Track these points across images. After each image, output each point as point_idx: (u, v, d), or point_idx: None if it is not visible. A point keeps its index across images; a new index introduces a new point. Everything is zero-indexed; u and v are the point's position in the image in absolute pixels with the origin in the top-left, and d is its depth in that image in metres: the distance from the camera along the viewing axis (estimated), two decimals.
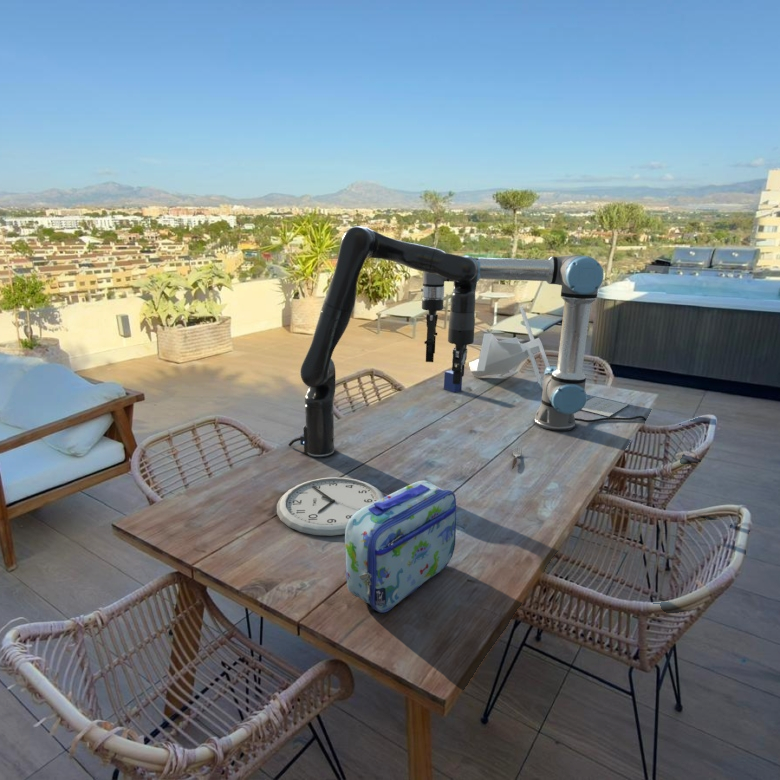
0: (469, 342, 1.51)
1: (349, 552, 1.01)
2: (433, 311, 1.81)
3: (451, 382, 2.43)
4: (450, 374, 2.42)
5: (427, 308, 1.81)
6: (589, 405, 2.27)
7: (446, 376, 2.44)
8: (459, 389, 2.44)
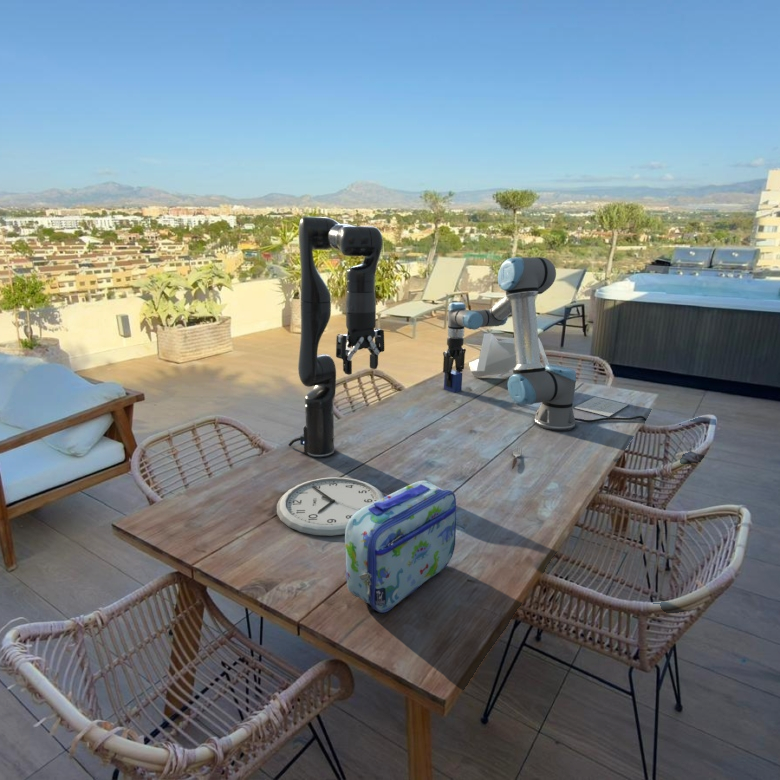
0: (360, 327, 1.29)
1: (349, 552, 1.01)
2: (450, 346, 2.37)
3: None
4: None
5: (447, 344, 2.39)
6: (589, 405, 2.27)
7: None
8: (459, 389, 2.44)
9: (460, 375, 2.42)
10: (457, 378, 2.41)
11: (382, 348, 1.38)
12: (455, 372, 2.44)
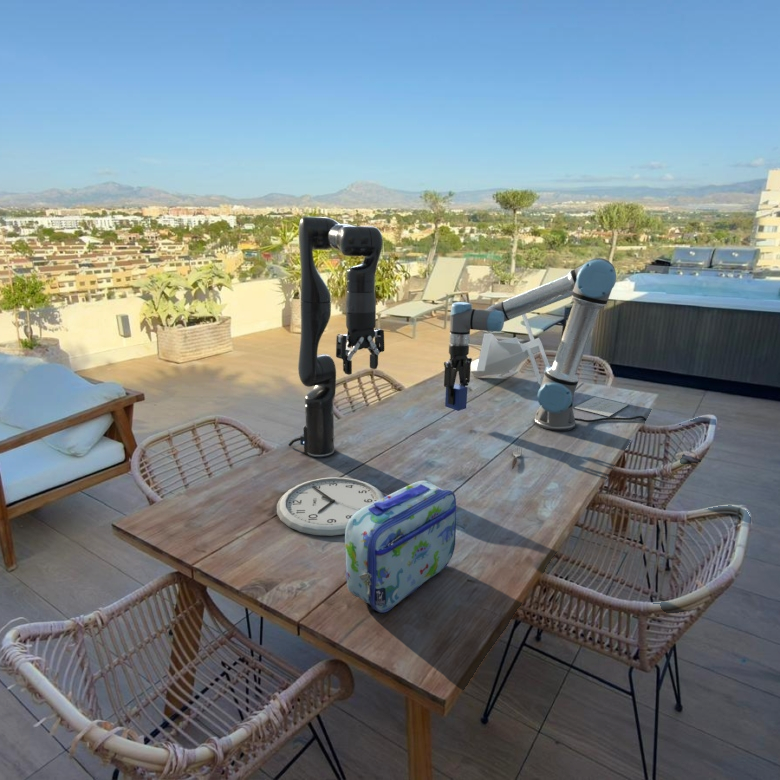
0: (360, 327, 1.29)
1: (349, 552, 1.01)
2: (453, 356, 1.96)
3: None
4: None
5: (449, 352, 1.97)
6: (589, 405, 2.27)
7: None
8: (463, 407, 2.02)
9: (465, 390, 2.01)
10: (461, 394, 2.00)
11: (382, 348, 1.38)
12: (459, 386, 2.02)
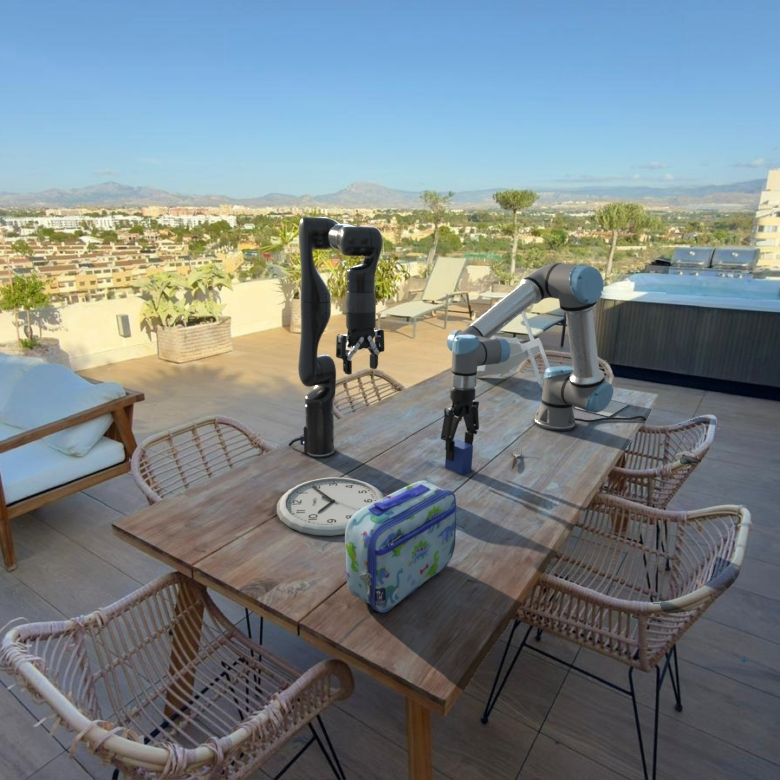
0: (360, 327, 1.29)
1: (349, 552, 1.01)
2: (455, 402, 1.56)
3: (456, 459, 1.62)
4: (455, 447, 1.61)
5: (451, 397, 1.57)
6: None
7: None
8: (468, 469, 1.64)
9: (470, 449, 1.62)
10: (465, 454, 1.61)
11: (382, 348, 1.38)
12: (462, 444, 1.63)
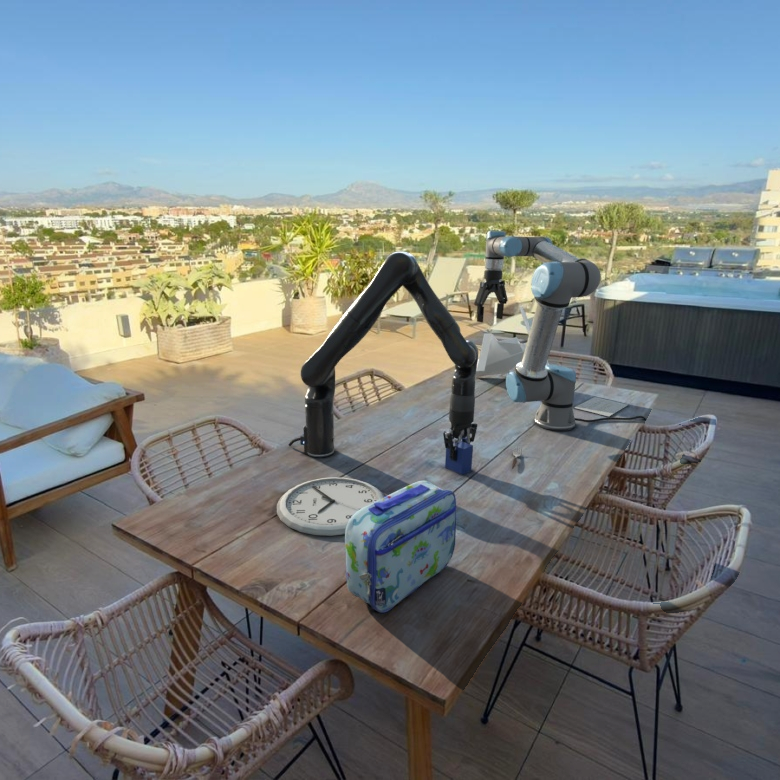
0: (463, 423, 1.57)
1: (349, 552, 1.01)
2: (488, 279, 2.16)
3: None
4: None
5: (485, 277, 2.17)
6: (589, 405, 2.27)
7: (449, 449, 1.64)
8: (468, 469, 1.64)
9: (470, 449, 1.62)
10: (465, 454, 1.61)
11: (473, 439, 1.65)
12: (462, 444, 1.63)
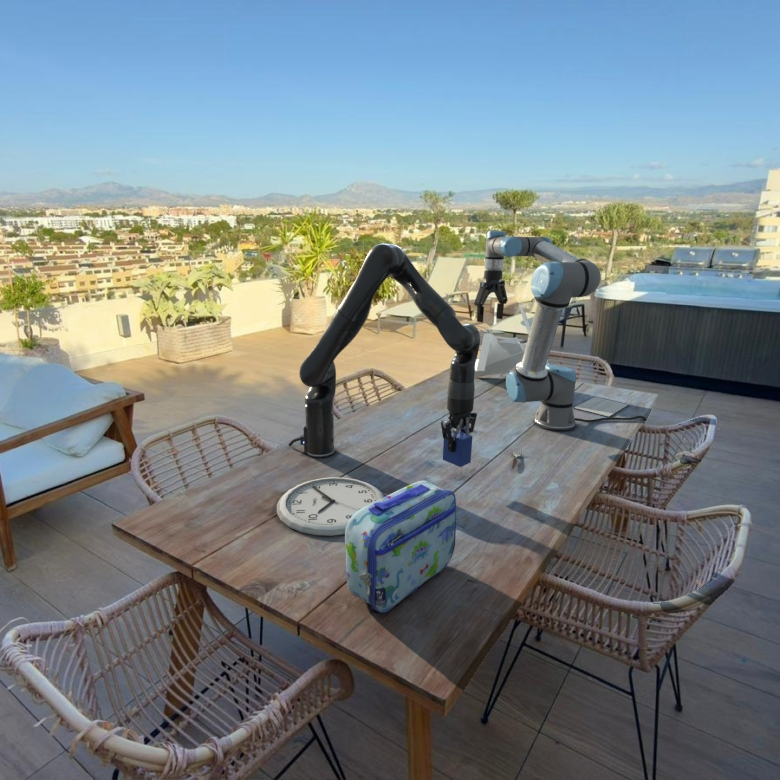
0: (462, 412, 1.47)
1: (349, 552, 1.01)
2: (488, 279, 2.16)
3: (455, 451, 1.52)
4: None
5: (485, 277, 2.17)
6: (589, 405, 2.27)
7: (447, 440, 1.54)
8: (467, 461, 1.54)
9: (469, 440, 1.52)
10: (464, 445, 1.51)
11: (472, 429, 1.55)
12: (461, 434, 1.53)
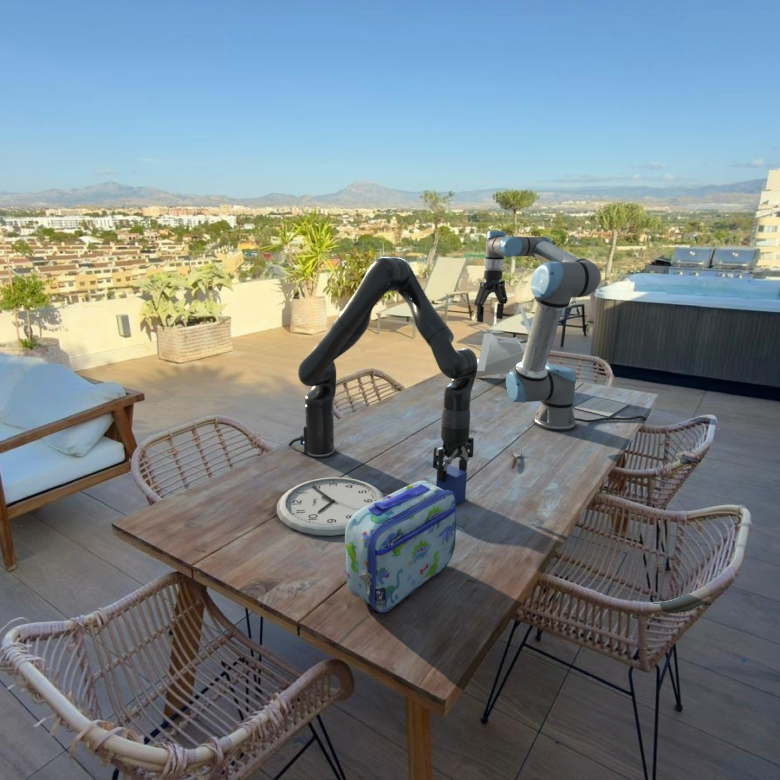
0: (456, 441, 1.38)
1: (349, 552, 1.01)
2: (488, 279, 2.16)
3: (448, 488, 1.44)
4: None
5: (485, 277, 2.17)
6: (589, 405, 2.27)
7: None
8: (461, 499, 1.46)
9: (463, 477, 1.44)
10: (458, 482, 1.43)
11: (471, 454, 1.47)
12: (455, 471, 1.45)
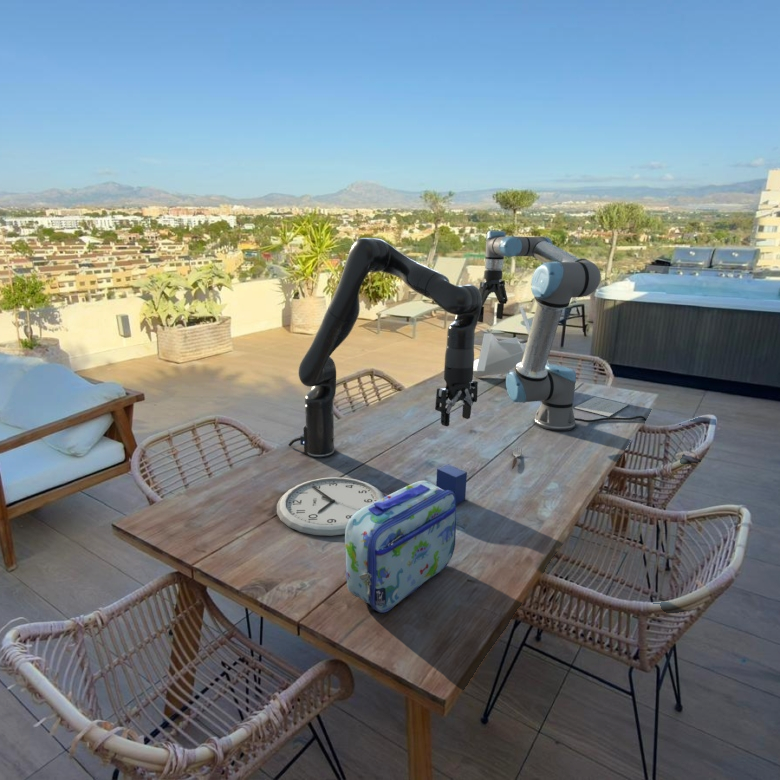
0: (460, 382, 1.33)
1: (349, 552, 1.01)
2: (488, 279, 2.16)
3: (448, 488, 1.44)
4: (446, 475, 1.44)
5: (485, 277, 2.17)
6: (589, 405, 2.27)
7: (440, 477, 1.46)
8: (462, 499, 1.46)
9: (463, 476, 1.44)
10: (458, 482, 1.43)
11: (475, 399, 1.42)
12: (455, 470, 1.45)
